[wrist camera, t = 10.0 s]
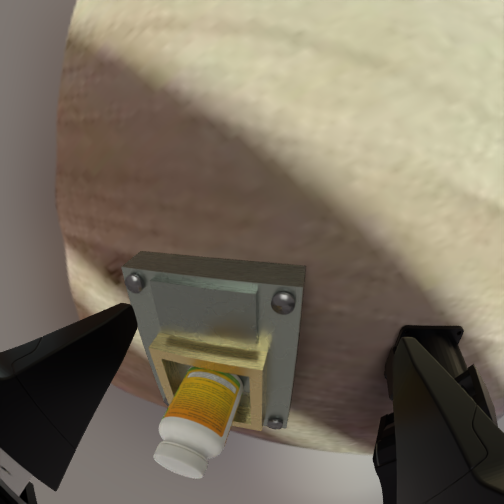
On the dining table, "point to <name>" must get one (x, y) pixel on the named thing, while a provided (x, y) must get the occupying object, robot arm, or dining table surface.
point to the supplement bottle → (198, 421)
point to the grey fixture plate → (221, 326)
